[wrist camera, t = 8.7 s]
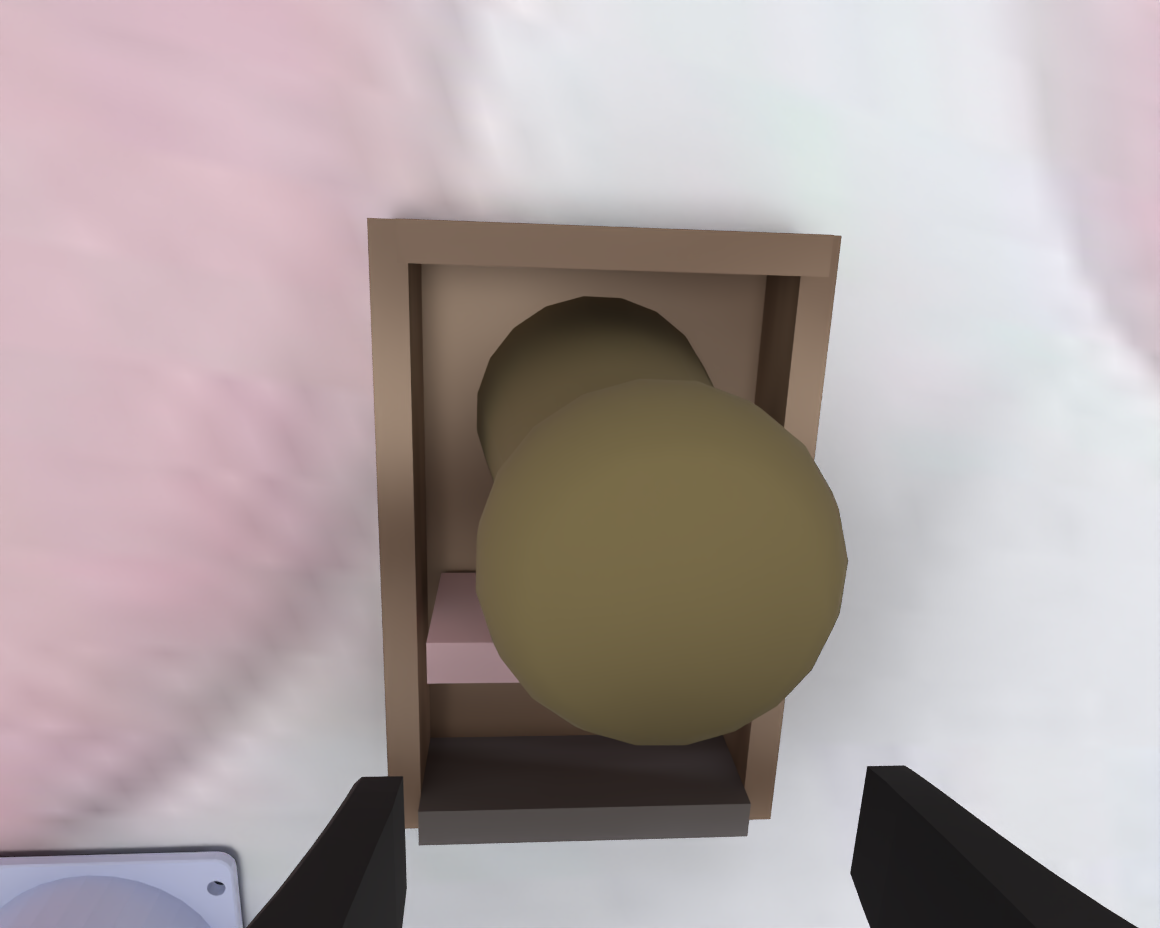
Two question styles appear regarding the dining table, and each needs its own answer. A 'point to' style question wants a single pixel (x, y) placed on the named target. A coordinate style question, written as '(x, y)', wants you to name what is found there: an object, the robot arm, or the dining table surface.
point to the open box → (463, 483)
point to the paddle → (462, 637)
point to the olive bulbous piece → (646, 531)
